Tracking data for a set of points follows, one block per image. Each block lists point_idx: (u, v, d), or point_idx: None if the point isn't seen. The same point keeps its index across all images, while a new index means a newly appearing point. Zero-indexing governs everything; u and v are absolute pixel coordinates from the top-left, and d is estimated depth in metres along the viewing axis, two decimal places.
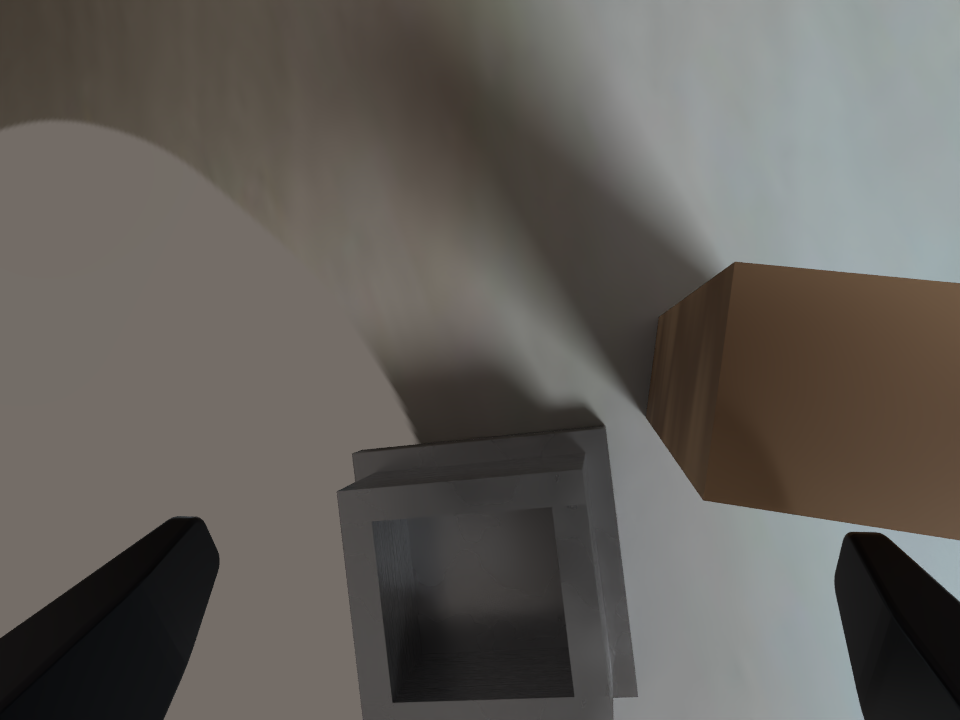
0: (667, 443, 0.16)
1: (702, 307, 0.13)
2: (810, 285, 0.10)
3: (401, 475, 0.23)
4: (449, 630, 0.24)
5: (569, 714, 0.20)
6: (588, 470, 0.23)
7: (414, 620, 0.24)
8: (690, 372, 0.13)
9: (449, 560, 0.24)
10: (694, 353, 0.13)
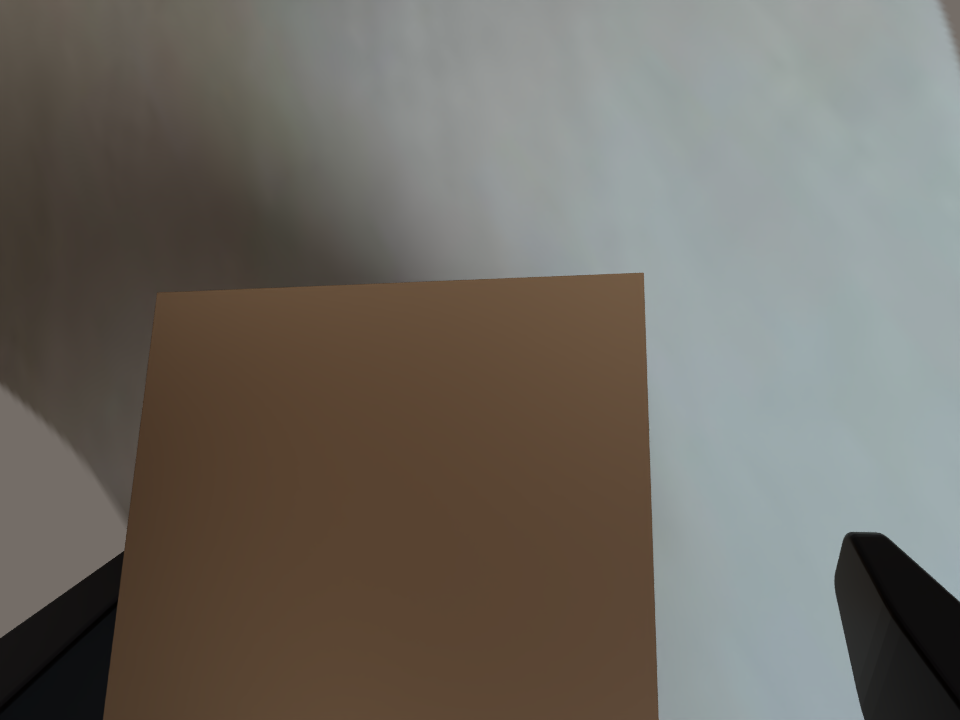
0: None
1: None
2: (291, 319, 0.05)
3: None
4: None
5: None
6: None
7: None
8: None
9: None
10: None
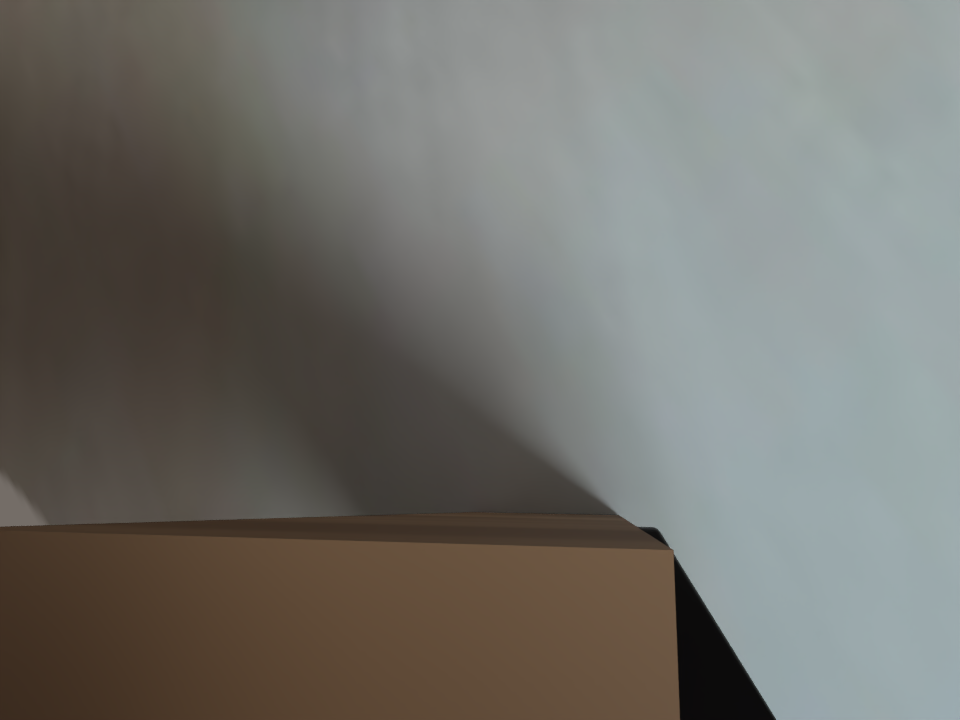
0: None
1: None
2: (130, 585, 0.03)
3: None
4: None
5: None
6: None
7: None
8: None
9: None
10: None
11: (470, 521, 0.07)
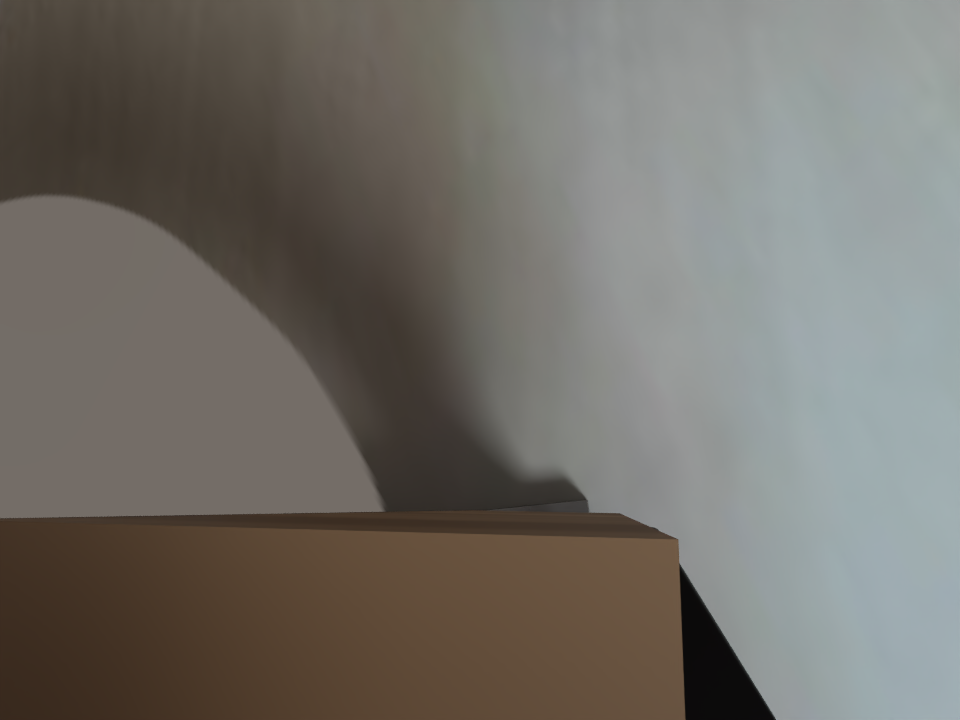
0: None
1: None
2: (134, 575, 0.03)
3: None
4: None
5: None
6: None
7: None
8: None
9: None
10: None
11: (472, 517, 0.07)
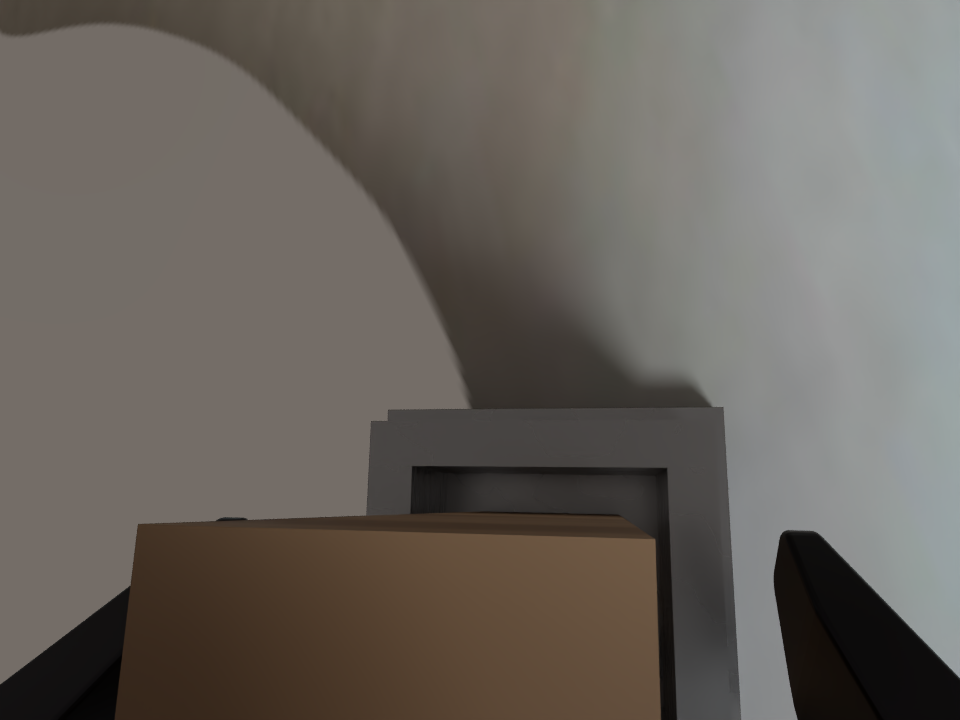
0: None
1: None
2: (280, 563, 0.05)
3: None
4: None
5: None
6: None
7: None
8: None
9: None
10: None
11: (495, 519, 0.08)
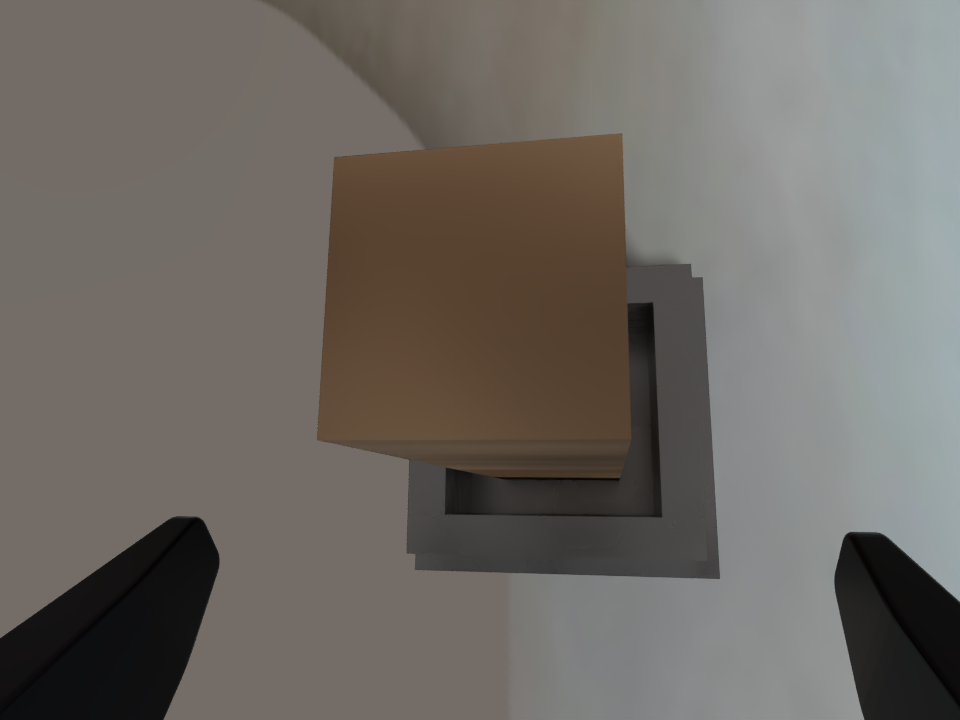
0: None
1: None
2: (417, 168, 0.08)
3: None
4: (505, 487, 0.21)
5: (654, 537, 0.17)
6: None
7: None
8: None
9: None
10: None
11: None
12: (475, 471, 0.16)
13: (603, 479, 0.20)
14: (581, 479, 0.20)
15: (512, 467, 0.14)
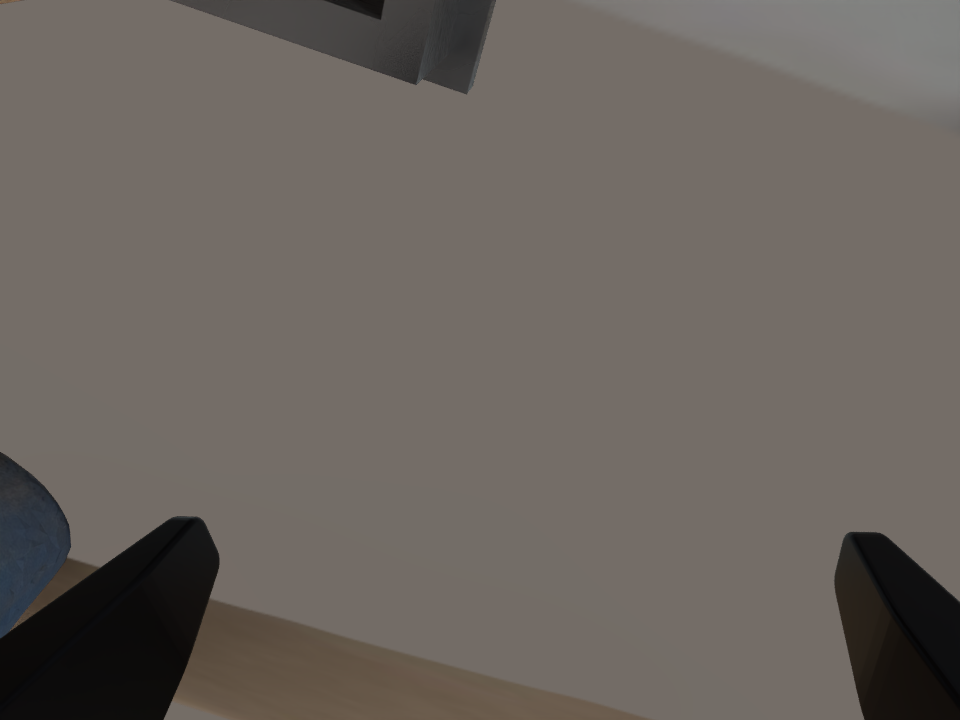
0: None
1: None
2: None
3: None
4: None
5: None
6: None
7: None
8: None
9: None
10: None
11: None
12: None
13: None
14: None
15: None
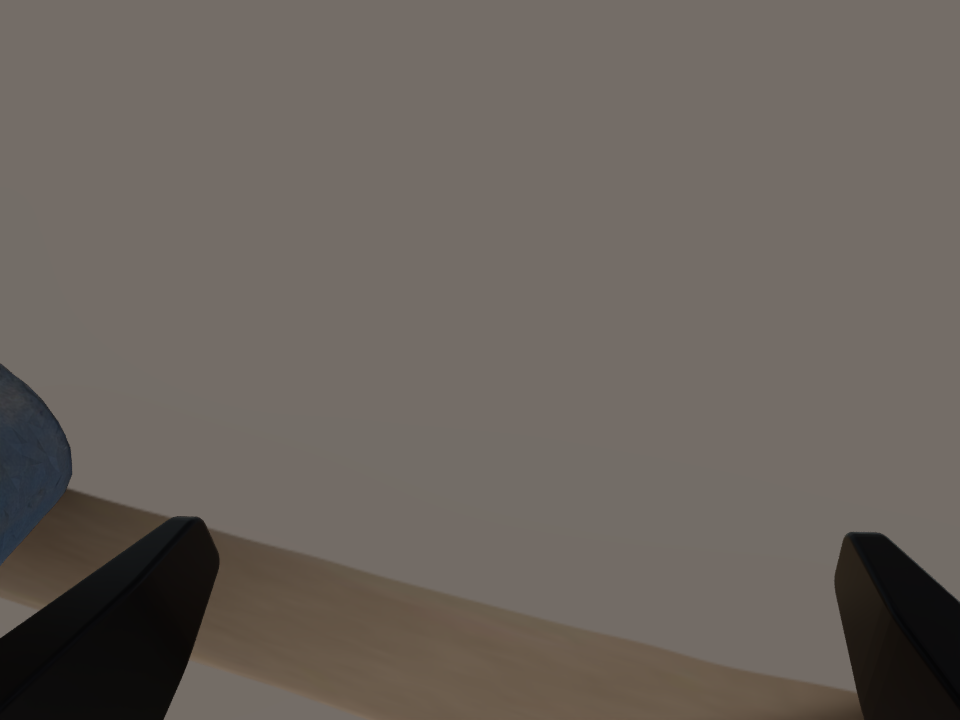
0: None
1: None
2: None
3: None
4: None
5: None
6: None
7: None
8: None
9: None
10: None
11: None
12: None
13: None
14: None
15: None
